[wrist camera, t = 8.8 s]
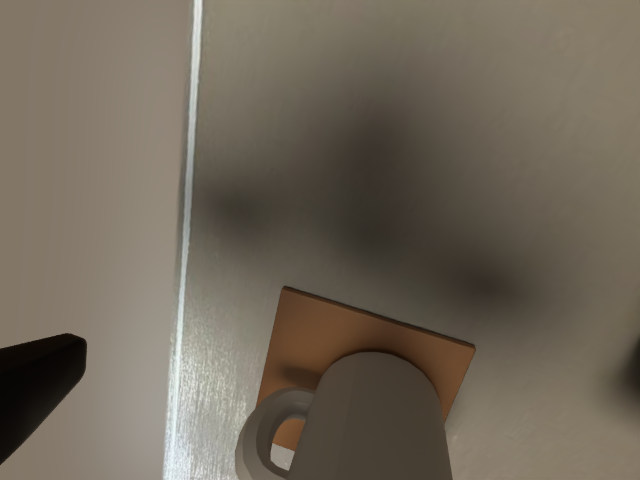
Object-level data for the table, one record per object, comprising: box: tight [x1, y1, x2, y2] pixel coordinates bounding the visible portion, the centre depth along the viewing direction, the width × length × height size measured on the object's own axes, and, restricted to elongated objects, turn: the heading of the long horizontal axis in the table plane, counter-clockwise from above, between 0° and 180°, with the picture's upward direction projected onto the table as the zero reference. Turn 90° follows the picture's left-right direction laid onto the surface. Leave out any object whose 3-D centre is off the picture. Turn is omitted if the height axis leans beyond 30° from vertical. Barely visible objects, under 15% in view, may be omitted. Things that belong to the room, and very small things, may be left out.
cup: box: [235, 352, 453, 480], centre depth 17 cm, size 7×10×9 cm
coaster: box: [256, 287, 476, 451], centre depth 22 cm, size 11×11×1 cm
